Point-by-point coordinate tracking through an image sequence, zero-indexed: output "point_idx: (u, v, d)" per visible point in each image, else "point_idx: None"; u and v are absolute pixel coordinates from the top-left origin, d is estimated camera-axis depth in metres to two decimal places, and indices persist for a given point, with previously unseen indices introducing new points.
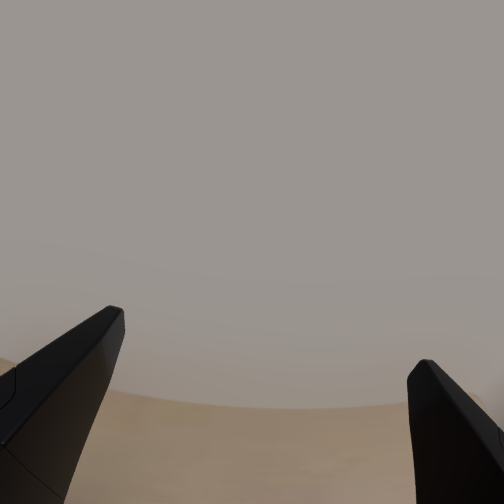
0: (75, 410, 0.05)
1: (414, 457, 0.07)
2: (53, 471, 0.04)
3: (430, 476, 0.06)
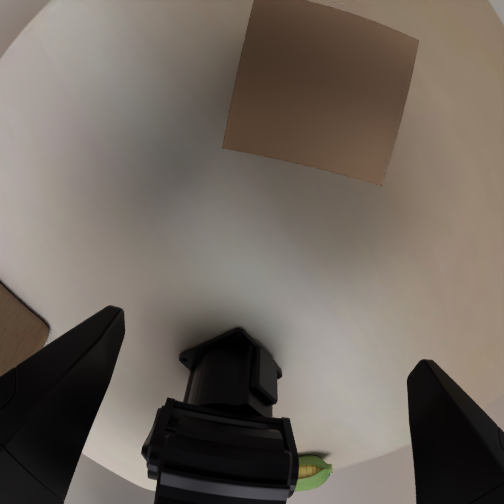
0: (75, 410, 0.05)
1: (413, 457, 0.07)
2: (53, 471, 0.04)
3: (430, 476, 0.06)
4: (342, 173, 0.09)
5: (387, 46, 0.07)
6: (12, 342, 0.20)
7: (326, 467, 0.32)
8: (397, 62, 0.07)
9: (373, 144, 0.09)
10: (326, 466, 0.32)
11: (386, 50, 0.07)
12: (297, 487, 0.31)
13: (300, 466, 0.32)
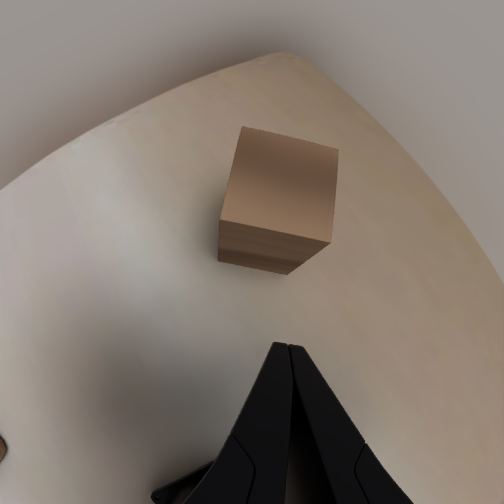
0: None
1: None
2: None
3: None
4: (302, 235, 0.14)
5: (319, 155, 0.15)
6: None
7: None
8: (327, 164, 0.15)
9: (320, 215, 0.14)
10: None
11: (319, 157, 0.15)
12: None
13: None
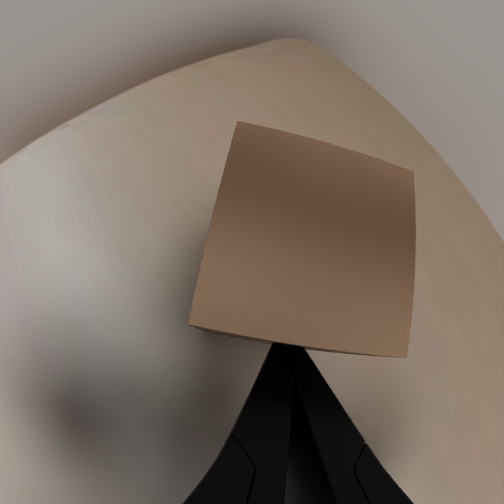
0: None
1: None
2: None
3: None
4: (357, 351, 0.06)
5: (384, 181, 0.08)
6: None
7: None
8: (398, 198, 0.07)
9: (390, 304, 0.07)
10: None
11: (385, 186, 0.08)
12: None
13: None
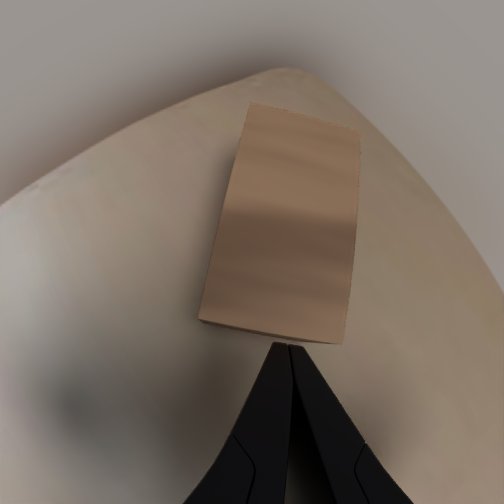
0: None
1: None
2: None
3: None
4: (331, 123, 0.13)
5: None
6: None
7: None
8: None
9: None
10: None
11: None
12: None
13: None
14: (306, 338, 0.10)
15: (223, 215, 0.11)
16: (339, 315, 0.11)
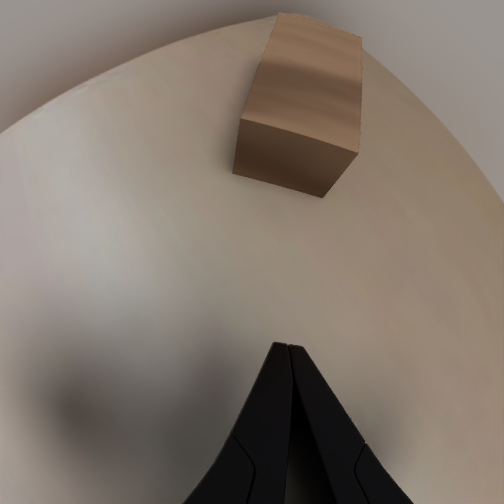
0: None
1: None
2: None
3: None
4: (339, 30, 0.14)
5: None
6: None
7: None
8: None
9: None
10: None
11: None
12: None
13: None
14: (328, 143, 0.12)
15: (261, 63, 0.13)
16: (354, 132, 0.12)
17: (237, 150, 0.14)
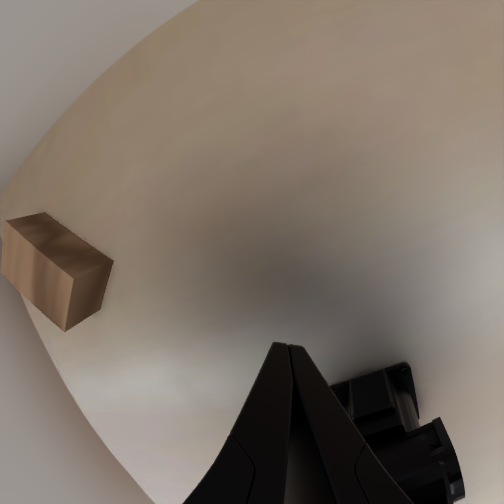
0: None
1: None
2: None
3: (284, 487, 0.06)
4: (4, 235, 0.20)
5: None
6: None
7: None
8: None
9: None
10: None
11: None
12: None
13: None
14: (71, 293, 0.19)
15: (35, 305, 0.20)
16: (63, 274, 0.19)
17: (83, 319, 0.23)
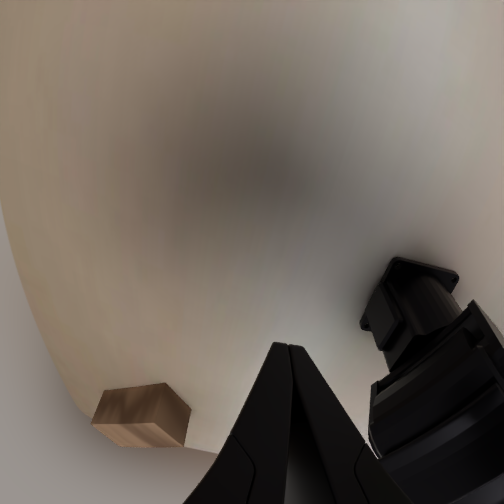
0: None
1: None
2: None
3: None
4: (99, 430, 0.27)
5: None
6: None
7: None
8: None
9: None
10: None
11: None
12: None
13: None
14: (162, 428, 0.25)
15: None
16: (147, 424, 0.25)
17: (187, 426, 0.28)
